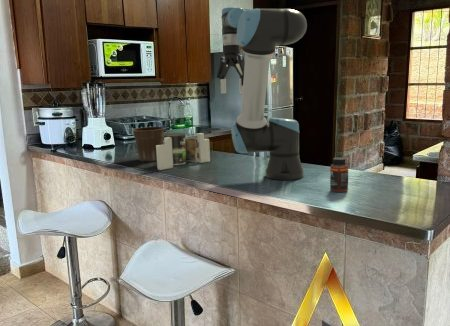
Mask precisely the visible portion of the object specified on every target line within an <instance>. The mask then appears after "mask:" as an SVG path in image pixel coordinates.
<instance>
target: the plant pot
mask: <svg viewBox="0 0 450 326" xmlns="http://www.w3.org/2000/svg"><path fill="white" fill-rule="evenodd" d="M131 131H132V132H133V136H134V137H133V138H134V139H135V144H136V149H137V154H138V161H139V162H148V163H149V162H157V154H156V145H163V144H164V135H165V127H163V126H145V127H137V128H133V129H132V130H131Z"/></svg>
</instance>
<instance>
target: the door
mask: <svg viewBox="0 0 450 326" xmlns="http://www.w3.org/2000/svg"><path fill="white" fill-rule="evenodd" d="M196 142H197V137H195V138H191V137H190V138H189V137H185V144H186V162H187V161H189V162H196V161H198V158H197V153H198V150H197V146H196Z"/></svg>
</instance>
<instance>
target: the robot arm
mask: <svg viewBox="0 0 450 326" xmlns="http://www.w3.org/2000/svg"><path fill="white" fill-rule="evenodd" d="M221 25H222V27H221V28H222V29H221V31H222V45H223V46H222V54H223V55H224V56H220V58H219V64H218V65H219V66H218V70H217V74H216V79H219V85H220V94H227V78H226V76H227V74H228V72H229V69H230V68H231V67H233V68H234V69H235V71H236V72H237V74H238V76H239V77H238V78H239V79H238V80H239V81H238V84H239V91H238V92H239V94H240V95H241V94H242V96H241V109H240V110H241V111H240V114H239V115H238V116H237V118H236V122H234V123H232V124H231V125H230V126H231V127H230V132H231V138H232V143H233V147H234V149H235V151H236V152H237V153H238V154H251V153H264V152H265V153H266V152H269V159H268V163H267V166H266V169H265V177H266V178H268V179H271V180H277V181H291V180H298V179H302V178H303V177H304V175H305V173H304V169H303V166H302V163H301V159H300V124H299V121H297V120H296V119H290V118H283V117H269V118H268V120H267V118H266V116H264V115H265V107H266V99H267V98H266V97H267V87H268V79H269V68H270V61H271V56H272V55H273V54H274V55H275V53H276V48H277V46H287V45H291V44H294V43H296V42H298V41H299V40H300V39H302V38H303V37H304V35H305V34H306V33H307V28H308V23H307V19H306V17H305V15H304V14H303V13H302V12H301V11H298V10H295V9H291V8H258V7H256V8H242V7H232V6H231V7H228V6H227V7H224V8H222V9H221ZM241 51H242V52H243V54H244V55H243V54H240V52H241Z"/></svg>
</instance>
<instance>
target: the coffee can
mask: <svg viewBox="0 0 450 326" xmlns="http://www.w3.org/2000/svg"><path fill="white" fill-rule="evenodd" d="M166 137H170V138H171V140H172V157H173V166H182V165H186V164H187V161H186V144H185V138H186V134H185V133H182V132H181V133H168V134H167V133H166V134H164V136H163V139H164V138H166Z"/></svg>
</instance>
